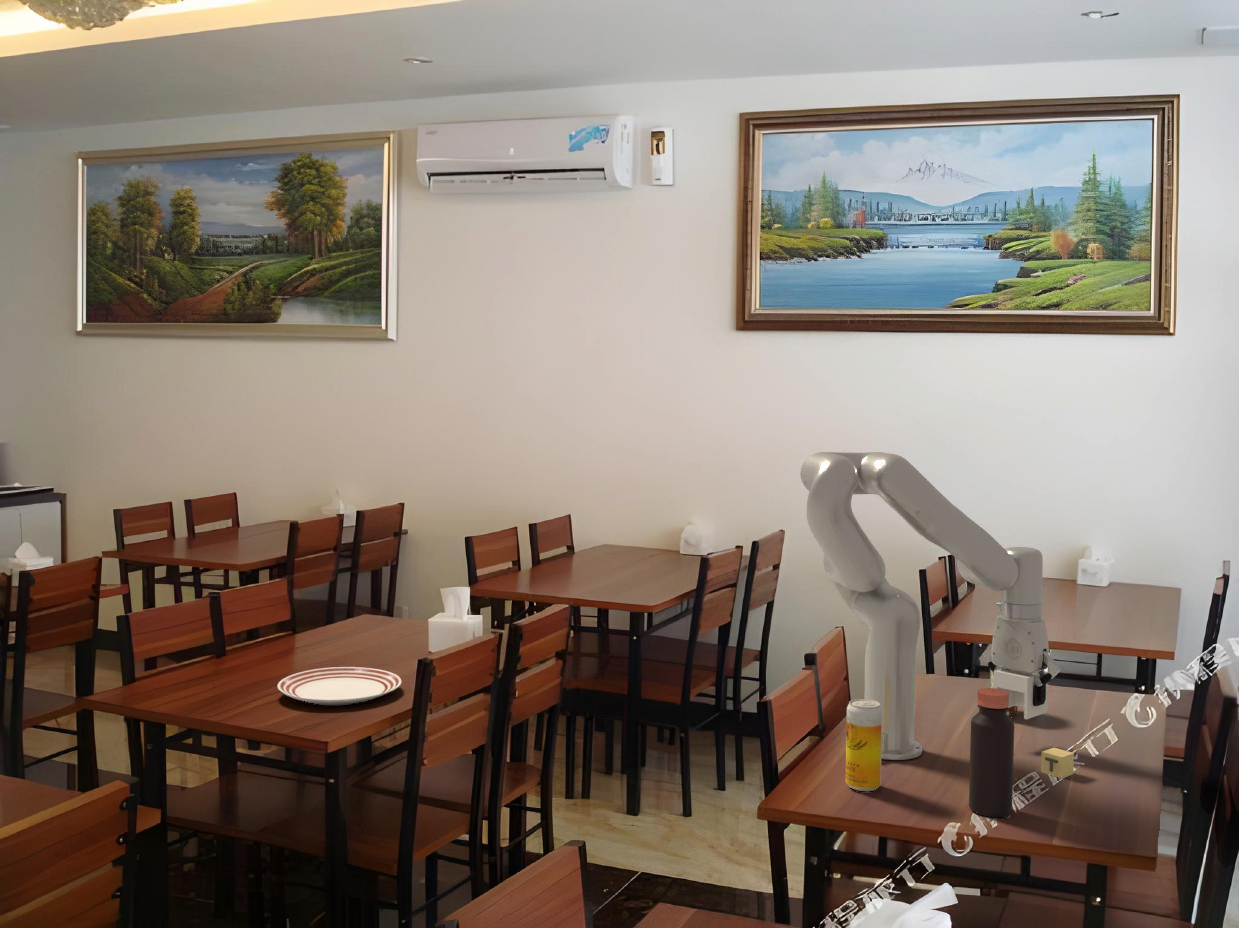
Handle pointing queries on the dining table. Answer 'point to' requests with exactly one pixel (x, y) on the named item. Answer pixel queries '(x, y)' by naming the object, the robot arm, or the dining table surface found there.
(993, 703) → the bottle
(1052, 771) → the letter cube
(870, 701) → the beer can
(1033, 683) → the cover
